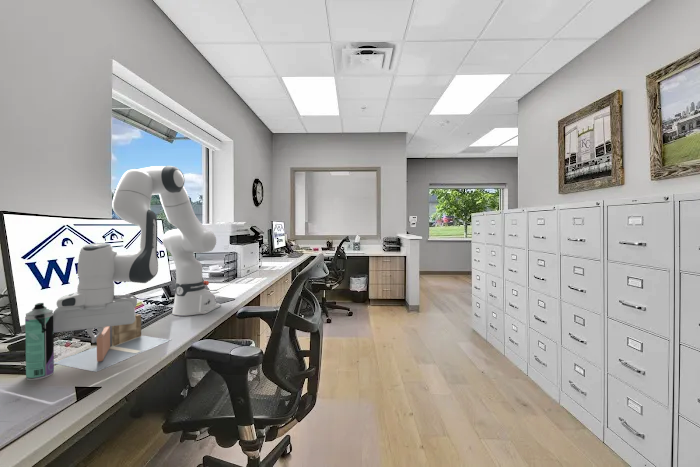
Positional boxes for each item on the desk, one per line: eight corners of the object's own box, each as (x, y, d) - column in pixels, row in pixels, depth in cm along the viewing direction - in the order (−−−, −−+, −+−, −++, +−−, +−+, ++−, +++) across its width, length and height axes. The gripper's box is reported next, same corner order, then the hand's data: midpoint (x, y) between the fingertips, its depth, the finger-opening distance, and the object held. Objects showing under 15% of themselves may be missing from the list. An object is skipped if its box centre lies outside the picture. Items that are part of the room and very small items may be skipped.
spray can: (58, 373, 89) (58, 302, 89) (34, 382, 84) (32, 307, 83) (46, 370, 91) (45, 300, 90) (21, 379, 86) (20, 304, 85)
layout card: (132, 335, 120) (132, 333, 120) (171, 341, 115) (171, 339, 115) (50, 364, 95) (50, 362, 95) (95, 373, 90) (95, 371, 90)
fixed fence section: (137, 335, 118) (137, 314, 118) (141, 336, 118) (141, 314, 118) (111, 345, 109) (111, 321, 109) (114, 345, 109) (114, 322, 108)
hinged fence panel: (105, 345, 108) (105, 323, 107) (112, 344, 109) (112, 323, 108) (96, 361, 95) (95, 337, 95) (103, 360, 96) (103, 336, 96)
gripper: (137, 292, 106) (136, 333, 107) (54, 297, 96) (54, 344, 96) (136, 295, 101) (136, 339, 101) (49, 302, 90) (48, 351, 90)
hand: (95, 341), depth 98 cm, fingers closed
